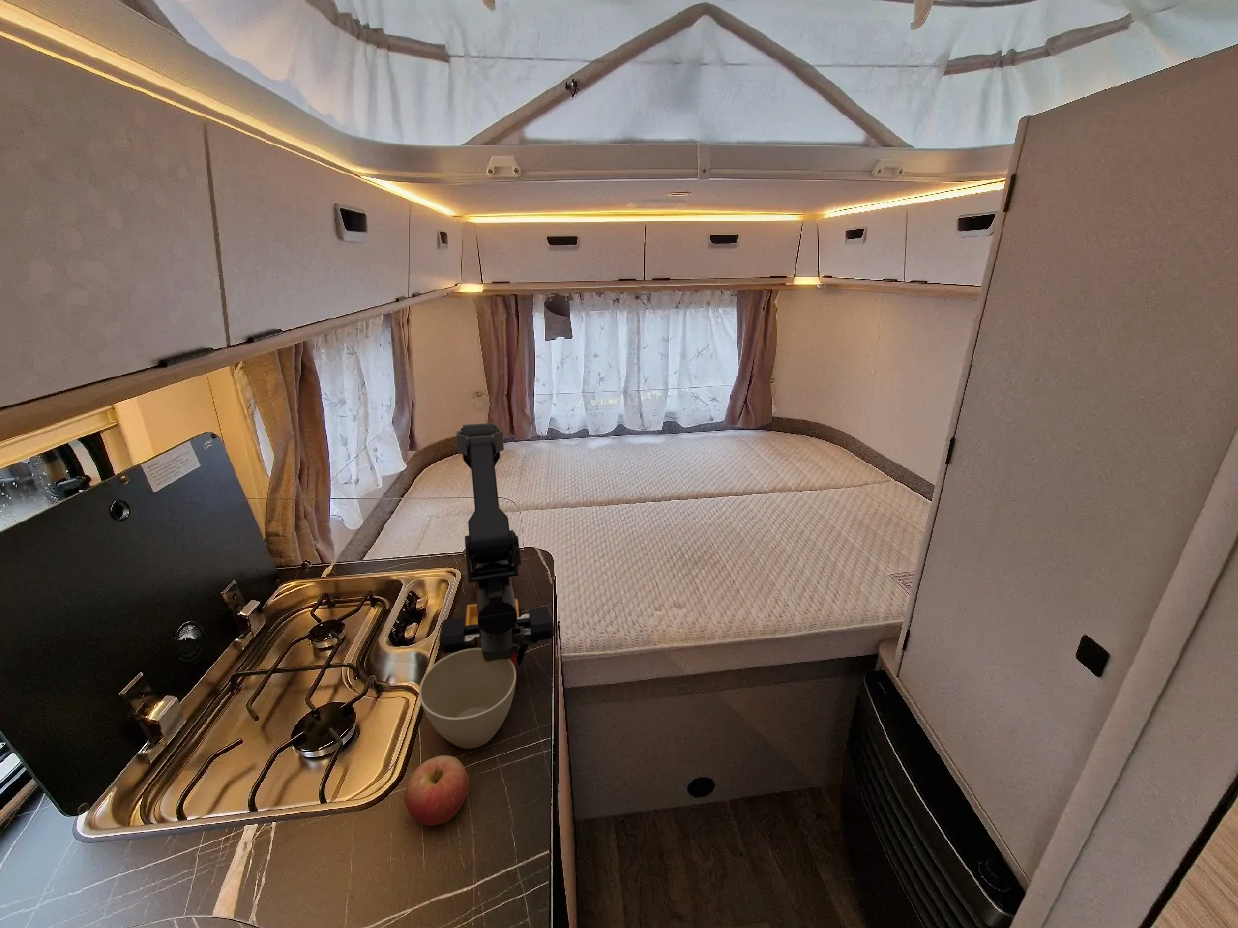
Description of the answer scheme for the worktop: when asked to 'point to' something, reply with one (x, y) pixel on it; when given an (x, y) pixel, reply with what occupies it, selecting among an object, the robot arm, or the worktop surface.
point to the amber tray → (472, 614)
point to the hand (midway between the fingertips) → (501, 666)
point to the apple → (436, 790)
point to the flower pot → (468, 696)
